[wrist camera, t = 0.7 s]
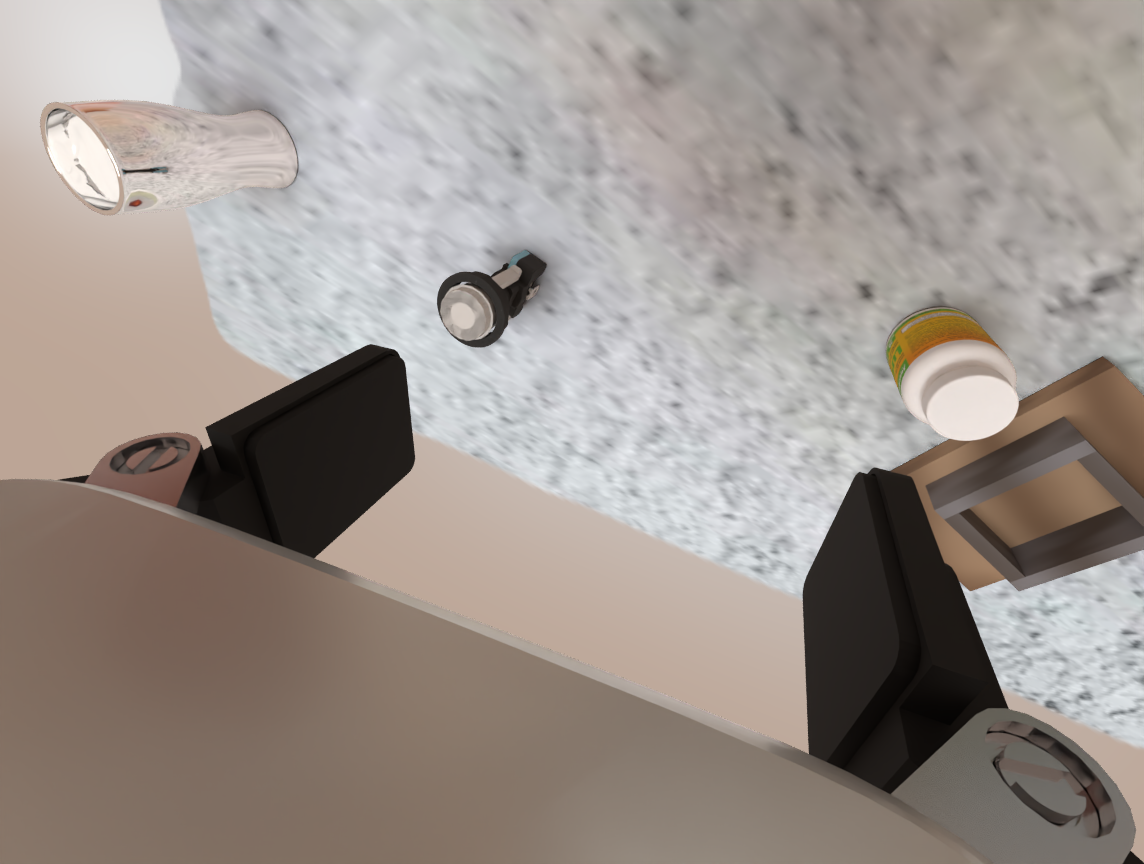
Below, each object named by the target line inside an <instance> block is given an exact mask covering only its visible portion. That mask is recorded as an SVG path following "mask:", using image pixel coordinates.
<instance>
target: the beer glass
mask: <svg viewBox="0 0 1144 864" xmlns="http://www.w3.org/2000/svg"><path fill="white" fill-rule="evenodd" d="M40 127H41V134H42V139H43V142H44V145H45V149H46V151H47V154H48V156H49V158H50V160H51V162H52V164H53V166H54V168H55V170H56V171H57V173H58V175H59V176H60V178H61V179H62V181H63V182H64V183H65V185H66V186H67V187H68V189H69V190H70V191H71V192H72V193H73V194H74V195H75V196H76V197H77V198H78V199H79V200H80V201H81V202H82V203H83V204H84V205H86V206H87V207H88V208H90V209H91V210H93V211H95V212H97V213H100V214H103V215H114V214H129V213H147V212H158V211H167V210H174V209H179V208H185V207H190V206H193V205H196V204H200V203H203V202H206V201H209V200H212V199H214V198H217V197H220V196H222V195H225V194H228V193H230V192H233V191H236V190H239V189H242V188H247V187H266V188H285V187H287V186H289V185H290V184H291V183H292V182H293V181H294V179H295V177H296V174H297V166H298V162H297V154H296V150H295V147H294V144H293V141H292V139H291V137H290V135H289V133H288V132H287V130H286V129H285V127H284V126H283V125H282V124H281V122H280V121H279V120H278V119H277V118H275V117H274V116H273V115H271V114H270V113H268V112H265V111H262V110H251V111H246V112H242V113H238V114H234V115H214V114H209V113H203V112H199V111H194V110H190V109H185V108H180V107H175V106H171V105H165V104H159V103H152V102H146V101H130V100H97V101H81V102H66V103H59V102H53V103H50V104H48V105H47V106H46V107H45V108H44V109H43V111H42V114H41V119H40Z"/></svg>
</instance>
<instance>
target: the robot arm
mask: <svg viewBox="0 0 1144 864" xmlns="http://www.w3.org/2000/svg"><path fill="white" fill-rule="evenodd" d="M206 430H207V433H208V436H209V439H210V441H211V444H212V446H210V447H208V448H206V449H205V450H203V448H202V445H201V443H200V441H199V440H198V439H197V438H196V437H194V436H192V435H189V434H184V433H178V432H176V433H160V434H154V435H148V436H145V437H141V438H138V439H134V440H131V441H129V442H127V443H124V444H122V445H119V446H118V447H116V448H114V449H113V450H111V451H110V452H108V453H107V454H106V455H105V456H104V457H103V458H102V459H101V460H100V461H99V463H98V464H97V465H96V467H95V468H94V470H93V471H92V473H91V474H90V475H87V476H79V477H74V478H67V479H60V480H42V479H41V480H40V479H9V480H0V864H1144V863H1143V862H1142V861H1141V860H1140V859H1139V858H1138V857H1137V856H1135V855H1134V853H1132V852H1131V851H1130V850H1131V849H1132V847H1133V843H1134V838H1135V833H1136V828H1135V824H1134V820H1133V817H1132V813H1131V809H1130V807H1129V805H1128V804H1127V802H1126V800H1125V799H1124V797H1123V795H1122V793H1121V792H1120V790H1119V788H1118V787H1117V785H1116V784H1115V783H1114V781H1113V780H1112V779H1111V778H1110V777H1109V776H1108V774H1107V773H1106V772H1105V771H1104V770H1103V768H1102V767H1101V766H1100V765H1099V764H1098V763H1097V762H1096V761H1095V760H1094V759H1093V758H1092V757H1091V756H1090V755H1089V754H1087V753H1086V752H1085V751H1084V750H1083V749H1082V748H1081V747H1080V746H1078V745H1077V744H1076V743H1075V742H1074V741H1072V740H1071V739H1070V738H1068V737H1066V736H1065V735H1064V734H1062V733H1061V732H1059V731H1057V730H1056V729H1055V728H1053V727H1052V726H1050V725H1048V724H1046V723H1044V722H1042V721H1040V720H1038V719H1036V718H1034V717H1032V716H1030V715H1028V714H1025V713H1021V712H1017V711H1013V710H1010V709H1008V706H1007V704H1006V701H1005V698H1004V696H1003V693H1002V691H1001V688H1000V685H999V683H998V680H997V678H996V675H995V673H994V670H993V667H992V665H991V662H990V660H989V657H988V655H987V652H986V650H985V647H984V644H983V642H982V639H981V637H980V634H979V632H978V629H977V626H976V624H975V621H974V619H973V616H972V614H971V611H970V608H969V606H968V603H967V601H966V598H965V596H964V593H963V590H962V588H961V585H960V583H959V580H958V578H957V575H956V573H955V572H954V570H953V568H952V567H951V566H949V565H948V564H946V563H944V561H943V558H942V555H941V553H940V550H939V547H938V544H937V542H936V539H935V536H934V534H933V531H932V528H931V526H930V523H929V520H928V518H927V515H926V512H925V510H924V507H923V504H922V502H921V499H920V496H919V493H918V491H917V488H916V485H915V483H914V480H913V479H912V477H911V476H907V475H903V474H899V473H895V472H891V471H887V470H883V469H879V468H873V469H871V471H870V472H869V473H868V474H865V473H861V472H859V473H858V474H857V475H856V476H855V478H854V479H853V481H852V483H851V486H850V488H849V490H848V492H847V494H846V496H845V498H844V500H843V502H842V504H841V506H840V508H839V510H838V512H837V515H836V517H835V519H834V521H833V523H832V525H831V527H830V529H829V531H828V533H827V535H826V537H825V539H824V541H823V544H822V546H821V548H820V550H819V552H818V554H817V556H816V558H815V560H814V562H813V564H812V566H811V568H810V570H809V573H808V575H807V577H806V580H805V583H804V588H803V617H804V640H805V641H804V642H805V667H806V692H807V717H808V743H809V754H807V753H805V752H803V751H801V750H799V749H796V748H794V747H792V746H790V745H787V744H785V743H783V742H781V741H778V740H776V739H773V738H771V737H769V736H766V735H764V734H761V733H759V732H756V731H754V730H751V729H749V728H747V727H744V726H742V725H739V724H737V723H734V722H732V721H729V720H727V719H725V718H722V717H720V716H717V715H714V714H712V713H710V712H707V711H705V710H703V709H700V708H698V707H695V706H693V705H690V704H688V703H685V702H683V701H681V700H678V699H676V698H673V697H670V696H668V695H666V694H663V693H661V692H658V691H655V690H653V689H650V688H648V687H645V686H643V685H640V684H637V683H635V682H632V681H630V680H627V679H624V678H622V677H620V676H617V675H614V674H612V673H609V672H607V671H604V670H602V669H599V668H597V667H594V666H591V665H589V664H586V663H584V662H581V661H579V660H576V659H574V658H571V657H568V656H566V655H563V654H561V653H558V652H556V651H553V650H551V649H548V648H545V647H543V646H540V645H538V644H535V643H533V642H530V641H528V640H525V639H522V638H520V637H517V636H515V635H512V634H509V633H507V632H505V631H502V630H499V629H497V628H494V627H492V626H489V625H486V624H484V623H481V622H478V621H476V620H473V619H471V618H468V617H465V616H463V615H460V614H458V613H455V612H453V611H450V610H447V609H444V608H442V607H439V606H437V605H434V604H432V603H429V602H427V601H424V600H421V599H419V598H416V597H413V596H411V595H408V594H406V593H403V592H401V591H398V590H395V589H393V588H390V587H388V586H385V585H382V584H380V583H377V582H374V581H372V580H369V579H367V578H364V577H361V576H359V575H356V574H354V573H351V572H348V571H346V570H343V569H340V568H338V567H335V566H332V565H330V564H327V563H325V562H322V561H319V560H316V559H314V558H315V557H316V556H317V555H318V554H319V553H321V552H322V551H323V550H324V549H325V548H326V547H327V546H328V545H329V544H330V543H331V542H333V541H334V540H335V539H336V538H337V537H338V536H339V535H340V534H342V533H343V532H344V531H345V530H346V529H347V528H348V527H349V526H350V525H351V524H353V523H354V522H355V521H356V520H357V519H358V518H359V517H360V516H361V515H362V514H364V513H365V512H366V511H367V510H368V509H369V508H370V507H371V506H373V505H374V504H375V503H376V502H377V501H378V500H379V499H380V498H381V497H382V496H384V495H385V494H386V493H387V492H388V491H389V490H390V489H391V488H392V487H393V486H395V485H396V484H397V483H398V482H399V481H400V480H401V479H402V478H403V477H405V476H406V475H407V474H408V473H409V472H410V471H411V469H412V467H413V465H414V461H415V453H414V443H413V433H412V424H411V414H410V405H409V396H408V386H407V377H406V367H405V363H404V361H403V359H401V358H400V356H399V354H398V352H397V351H395V350H393V349H389V348H385V347H381V346H377V345H372V344H370V345H366V346H365V347H363V348H361V349H359V350H357V351H355V352H353V353H351V354H349V355H347V356H345V357H343V358H341V359H339V360H337V361H335V362H333V363H331V364H329V365H327V366H325V367H323V368H321V369H319V370H317V371H315V372H313V373H311V374H309V375H307V376H306V377H304V378H302V379H300V380H298V381H296V382H294V383H292V384H290V385H288V386H286V387H284V388H282V389H280V390H278V391H276V392H274V393H272V394H270V395H268V396H266V397H264V398H262V399H260V400H258V401H256V402H254V403H252V404H250V405H249V406H247V407H245V408H243V409H241V410H239V411H237V412H235V413H233V414H231V415H229V416H227V417H225V418H223V419H221V420H219V421H217V422H215V423H213V424H211V425H209V426H207V427H206Z"/></svg>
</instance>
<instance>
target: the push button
mask: <svg viewBox="0 0 1144 864" xmlns="http://www.w3.org/2000/svg"><path fill="white" fill-rule="evenodd" d="M545 268H546V264H545V263H544V262H542V261H541V260H539V259H538V258H536V257H535V256H533V255H532V254H531V253H529V252H528V251H526V250H524V251H523V252H521V253H519V254H517V255H515V256H513V258H512V259H511V261H510V264H508V263H506V264H504V265H503V267H502V269H501V270H499V271H497V272H495V273H494V274H493V275H492V276H491V277H490V276H489V275H487V274H484V273H481V272H477V271H475V272H459V273H456V274H454V275H452V276H450V277H448V278H447V279H446V280H445V281H444V282H443V283H442V285H441V287H440V289H439V292H438V297H437V306H438V312H439V315H440V318H441V320H442V322H443V324H444V326H445V327H446V329H447V330H448V331H449V333H450V334H451V335H452V336H453V337H454V338H455V339H457V340H458V341H460V342H461V343H463V344H465V345H468V346H471V347H486V346H489V345H491V344H492V343H494V342H495V341H496V340H498V339H499V338H500V336H501V335H502V333H503V331H504V329H505V328H506V327H507V325H508V321H509V319H510V317H512V318H514V317H515V316H517V315H518V314H519V313H520V312H521V310H522V308H523V303H524V301H525V299H526V300H529V299H531V298H532V297H533V296H535V294H536V293H537V291H538V288H539V286H540V285H538V286H536V287H535V288H534V289H532V288H531V286H532V284H533V282H534V280H536V279H537V278H538V277H539V276H540V275H541V274H542V273H543V272H544V270H545ZM461 282H468V283H466V284H464V285H460V283H461ZM535 290H536V291H535ZM494 326H495V328H494V330H493V332H490V333H489V331H490V329H491V328H493V327H494Z"/></svg>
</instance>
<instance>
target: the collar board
mask: <svg viewBox="0 0 1144 864" xmlns="http://www.w3.org/2000/svg"><path fill="white" fill-rule="evenodd" d="M891 472H895V473H899V474H903V475H907V476H911V477H912V479H913V480H914V483H915V485H916V488H917V491H918V493H919V496H920V499H921V502H922V504H923V507H924V510H925V512H926V515H927V518H928V520H929V523H930V526H931V528H932V531H933V534H934V536H935V539H936V542H937V544H938V547H939V550H940V553H941V555H942V558H943V561H944V563H946V564H948V565H949V566H951V567H952V568H953V570H954V572H955V573H956V575H957V578H958V580H959V581H960V582H961V583H962V584H963V585H964V586H965V587H966V588H967V589H968V590H969V591H973V590H975V589H978V588H981V587H984V586H987V585H990V584H992V583H995V582H998V581H1001V580H1004V579H1007V580H1008V581H1009V582H1010V583H1011V584H1012V585H1013V586H1014V587H1015V588H1016V589H1017V590H1018V591H1021V590H1024V589H1027V588H1030V587H1033V586H1036V585H1039V584H1042V583H1045V582H1048V581H1051V580H1054V579H1057V578H1060V577H1063V576H1066V575H1069V574H1072V573H1075V572H1078V571H1081V570H1084V569H1087V568H1090V567H1093V566H1096V565H1099V564H1102V563H1105V562H1108V561H1111V560H1114V559H1117V558H1120V557H1123V556H1126V555H1129V554H1132V553H1135V552H1138V551H1141V550H1144V396H1143V395H1142V394H1141V393H1140V392H1139V391H1138V389H1137V388H1136V387H1135V386H1134V385H1133V384H1132V383H1131V382H1130V381H1129V380H1128V379H1127V378H1126V377H1125V376H1124V375H1123V374H1122V373H1121V372H1120V371H1119V370H1118V369H1117V368H1116V366H1114V365H1113V364H1112V363H1110V362H1109V361H1108V360H1106V359H1105V358H1104V357H1101V358H1099V359H1097V360H1096V361H1094V362H1092V363H1090V364H1088V365H1086V366H1085V367H1083V368H1081V369H1079V370H1077V371H1075V372H1073V373H1072V374H1070V375H1068V376H1066V377H1064V378H1062V379H1060V380H1059V381H1057V382H1055V383H1053V384H1051V385H1049V386H1047V387H1046V388H1044V389H1042V390H1040V391H1038V392H1036V393H1034V394H1033V395H1031V396H1029V397H1027V398H1025V399H1023V400H1021V401H1020V402H1019V406H1018V410H1017V413H1016V415H1015V417H1014V419H1013V420H1012V421H1011V422H1010V423H1009V425H1008V426H1006V427H1005V428H1004V429H1002V430H1001V431H999V432H998V433H996V434H994V435H992V436H989V437H986V438H983V439H979V440H972V441H960V440H954V439H949V440H947V441H945V442H944V443H942V444H940V445H938V446H936V447H934V448H932V449H931V450H929V451H927V452H925V453H923V454H921V455H919V456H918V457H916V458H914V459H912V460H910V461H908V462H906V463H905V464H903V465H901V466H899V467H897V468H895V469H894V470H892V471H891Z"/></svg>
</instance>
